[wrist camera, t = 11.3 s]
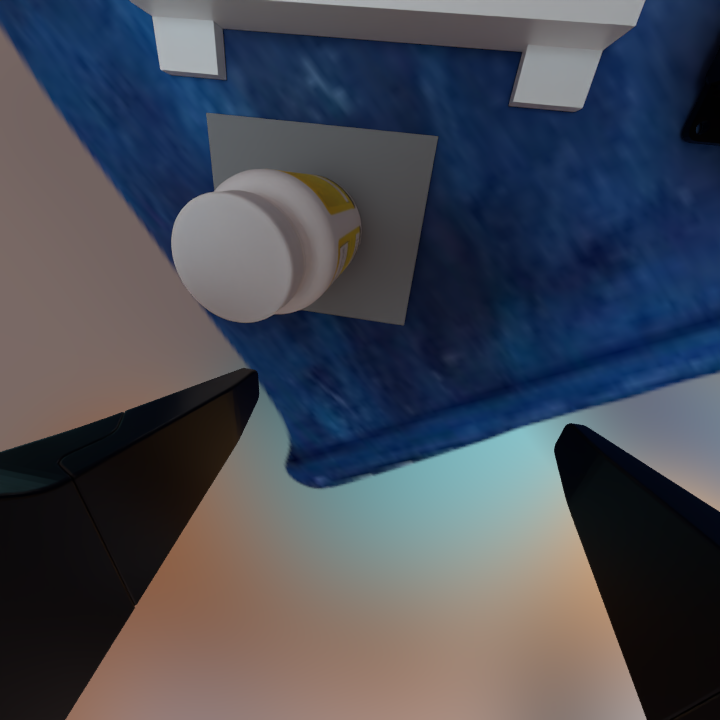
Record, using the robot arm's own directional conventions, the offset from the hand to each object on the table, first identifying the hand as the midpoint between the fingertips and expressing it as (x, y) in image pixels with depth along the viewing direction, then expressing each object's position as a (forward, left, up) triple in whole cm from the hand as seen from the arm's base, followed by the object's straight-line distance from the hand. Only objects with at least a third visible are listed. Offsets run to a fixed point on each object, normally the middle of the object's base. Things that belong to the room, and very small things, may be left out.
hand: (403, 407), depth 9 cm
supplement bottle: (+6, -3, -12) cm, 13 cm away
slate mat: (+6, -3, -12) cm, 14 cm away
